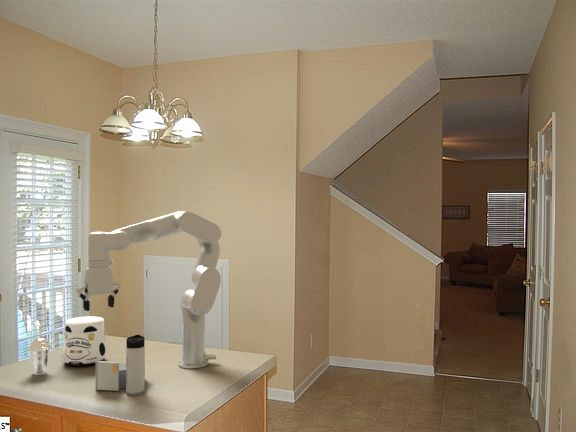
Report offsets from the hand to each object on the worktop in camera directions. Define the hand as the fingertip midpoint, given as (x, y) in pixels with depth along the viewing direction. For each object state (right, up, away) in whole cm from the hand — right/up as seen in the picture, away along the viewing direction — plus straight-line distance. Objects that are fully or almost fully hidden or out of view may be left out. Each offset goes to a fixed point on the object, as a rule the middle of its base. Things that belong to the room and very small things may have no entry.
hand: (99, 308), depth 193 cm
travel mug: (+18, -28, -14) cm, 36 cm away
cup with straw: (-26, -27, +7) cm, 38 cm away
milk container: (-14, -27, +21) cm, 37 cm away
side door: (+7, -27, -12) cm, 31 cm away
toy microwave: (+11, -27, -5) cm, 30 cm away
